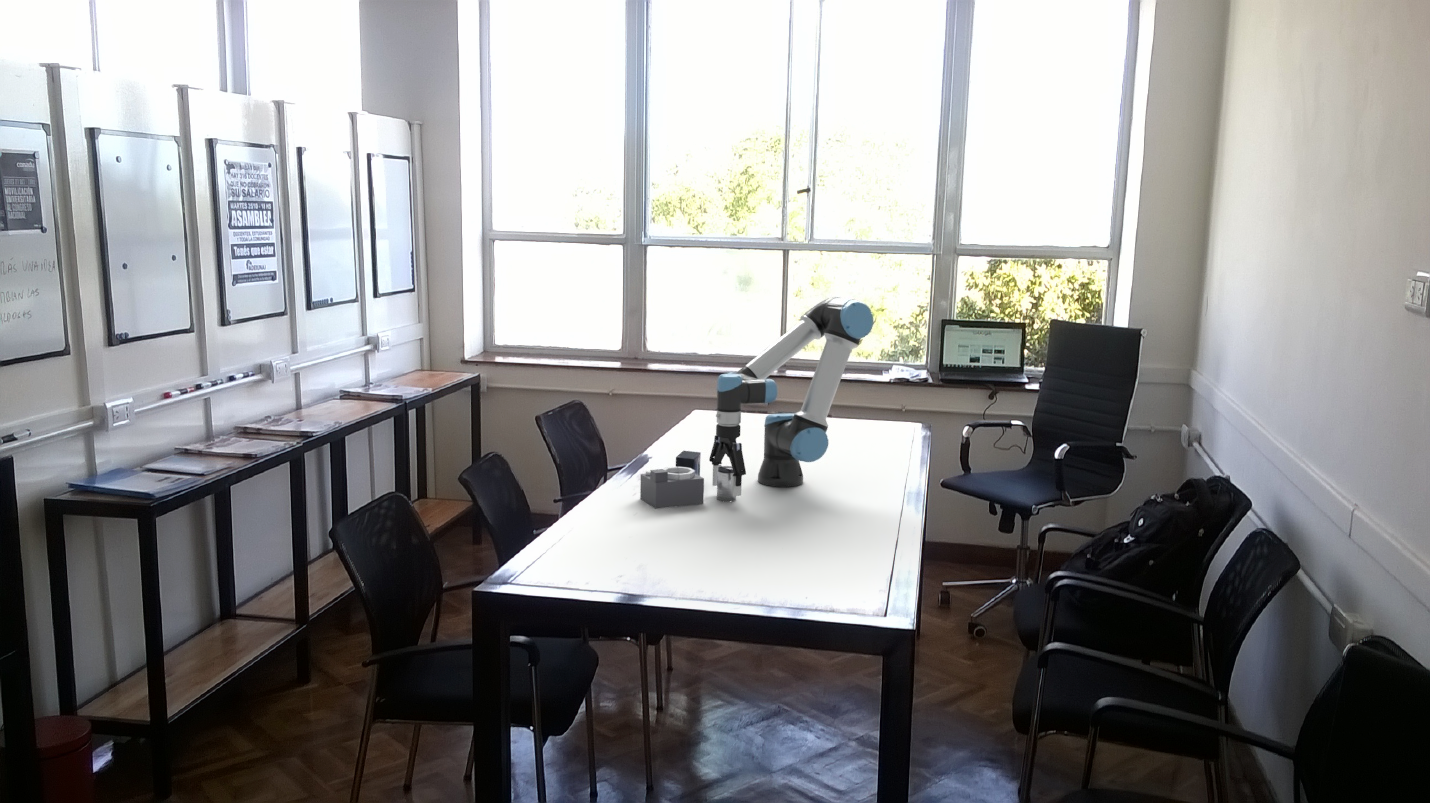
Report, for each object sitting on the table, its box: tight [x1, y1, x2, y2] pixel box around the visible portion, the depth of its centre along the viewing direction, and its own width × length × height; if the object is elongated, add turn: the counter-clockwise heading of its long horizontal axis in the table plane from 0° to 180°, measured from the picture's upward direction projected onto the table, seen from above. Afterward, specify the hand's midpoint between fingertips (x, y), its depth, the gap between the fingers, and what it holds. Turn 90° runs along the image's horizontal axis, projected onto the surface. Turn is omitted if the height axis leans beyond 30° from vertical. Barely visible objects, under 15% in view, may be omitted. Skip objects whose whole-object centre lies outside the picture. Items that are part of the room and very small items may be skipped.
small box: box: [675, 450, 702, 477], centre depth 359 cm, size 11×6×10 cm, turn 168°
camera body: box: [639, 466, 705, 510], centre depth 339 cm, size 16×12×11 cm
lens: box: [716, 465, 737, 503], centre depth 343 cm, size 6×6×10 cm
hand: (726, 490), depth 343 cm, fingers open, 13 cm apart
